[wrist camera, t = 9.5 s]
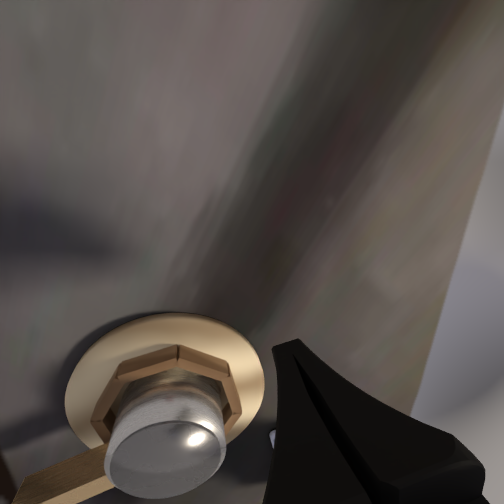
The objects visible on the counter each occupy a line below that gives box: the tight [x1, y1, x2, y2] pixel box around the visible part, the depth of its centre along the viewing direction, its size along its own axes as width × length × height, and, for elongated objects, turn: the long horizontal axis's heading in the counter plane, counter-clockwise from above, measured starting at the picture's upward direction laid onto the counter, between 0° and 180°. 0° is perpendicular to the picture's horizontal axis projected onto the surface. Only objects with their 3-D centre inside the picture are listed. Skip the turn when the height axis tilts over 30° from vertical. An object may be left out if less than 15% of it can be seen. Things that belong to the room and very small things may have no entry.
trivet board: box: [65, 313, 264, 449], centre depth 23 cm, size 16×16×2 cm
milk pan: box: [12, 367, 226, 504], centre depth 20 cm, size 15×8×5 cm, turn 108°
